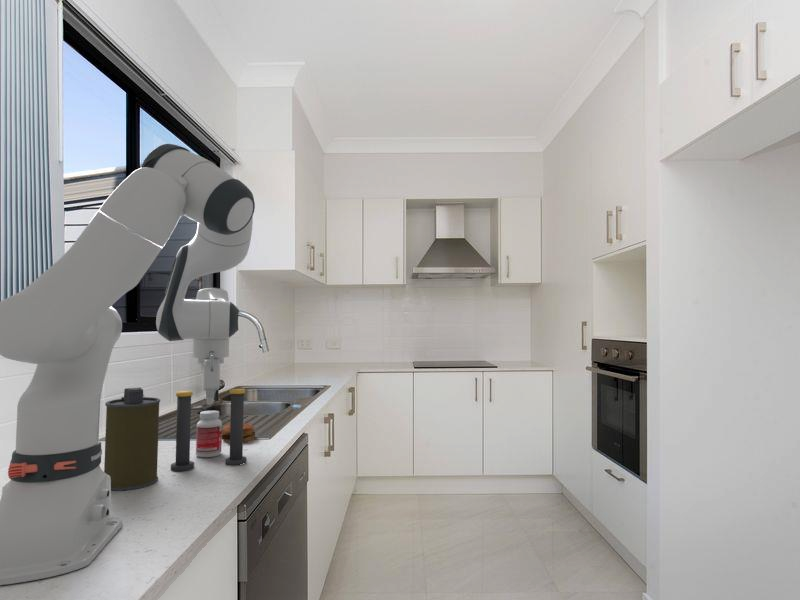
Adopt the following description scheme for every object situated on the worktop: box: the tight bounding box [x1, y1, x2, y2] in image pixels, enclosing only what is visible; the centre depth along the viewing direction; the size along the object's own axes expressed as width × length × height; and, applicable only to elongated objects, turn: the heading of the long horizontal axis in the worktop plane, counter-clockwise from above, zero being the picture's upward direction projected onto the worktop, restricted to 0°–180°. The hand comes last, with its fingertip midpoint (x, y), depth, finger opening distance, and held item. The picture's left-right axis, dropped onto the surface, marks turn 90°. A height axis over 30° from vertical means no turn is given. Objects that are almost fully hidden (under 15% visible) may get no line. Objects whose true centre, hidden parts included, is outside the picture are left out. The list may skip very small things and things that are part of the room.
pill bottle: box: [195, 410, 223, 458], centre depth 127 cm, size 6×6×11 cm
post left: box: [170, 390, 195, 472], centre depth 115 cm, size 5×5×18 cm
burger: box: [222, 422, 256, 444], centre depth 143 cm, size 10×9×5 cm
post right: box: [224, 388, 248, 466], centre depth 120 cm, size 5×5×18 cm
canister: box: [103, 387, 161, 492], centre depth 105 cm, size 11×10×20 cm
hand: (209, 403), depth 127 cm, fingers closed
